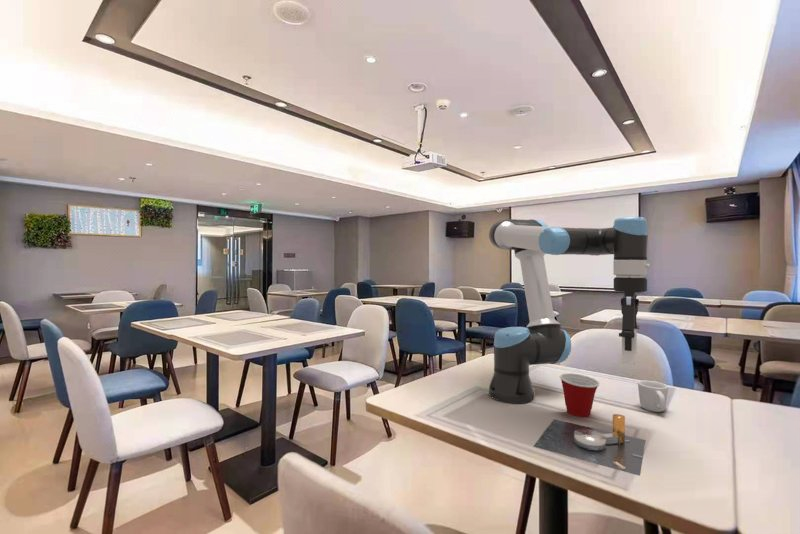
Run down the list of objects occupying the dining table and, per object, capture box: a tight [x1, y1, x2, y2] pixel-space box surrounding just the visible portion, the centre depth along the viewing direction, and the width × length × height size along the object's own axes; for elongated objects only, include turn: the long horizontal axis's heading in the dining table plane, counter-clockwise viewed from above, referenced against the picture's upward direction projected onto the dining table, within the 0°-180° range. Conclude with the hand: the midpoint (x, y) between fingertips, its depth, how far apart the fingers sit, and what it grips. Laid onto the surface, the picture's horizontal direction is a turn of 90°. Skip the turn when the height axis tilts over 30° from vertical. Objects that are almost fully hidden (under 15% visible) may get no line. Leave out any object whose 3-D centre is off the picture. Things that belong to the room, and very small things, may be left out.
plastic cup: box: [559, 372, 601, 418], centre depth 113 cm, size 11×11×12 cm
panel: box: [533, 419, 646, 476], centre depth 94 cm, size 22×20×2 cm
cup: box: [637, 379, 669, 413], centre depth 119 cm, size 11×8×8 cm
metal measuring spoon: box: [574, 413, 626, 450], centre depth 94 cm, size 13×7×6 cm, turn 99°
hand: (629, 357), depth 100 cm, fingers open, 13 cm apart
